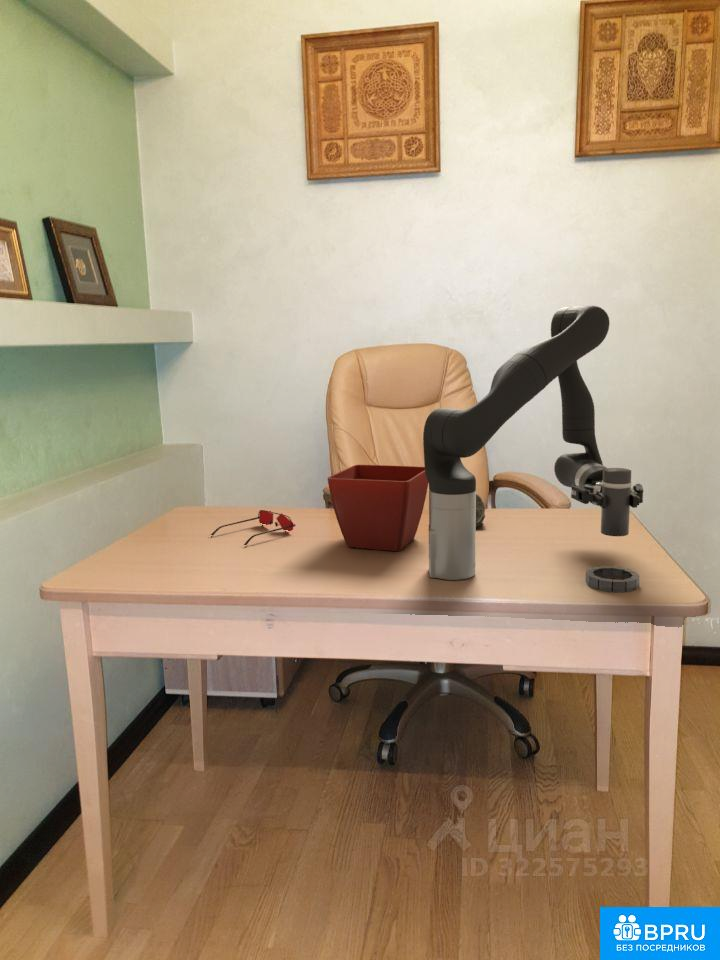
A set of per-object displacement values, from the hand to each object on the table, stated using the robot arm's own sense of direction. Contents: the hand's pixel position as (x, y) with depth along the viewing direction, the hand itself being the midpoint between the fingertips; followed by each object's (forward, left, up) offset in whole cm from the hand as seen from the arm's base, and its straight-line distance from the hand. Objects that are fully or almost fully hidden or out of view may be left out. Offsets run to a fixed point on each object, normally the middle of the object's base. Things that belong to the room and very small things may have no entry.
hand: (619, 502), depth 139 cm
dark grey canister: (0, +3, -6) cm, 7 cm away
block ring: (0, +3, -16) cm, 17 cm away
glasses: (-77, +39, -17) cm, 88 cm away
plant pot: (-45, +32, -17) cm, 58 cm away
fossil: (-25, +48, -17) cm, 56 cm away
